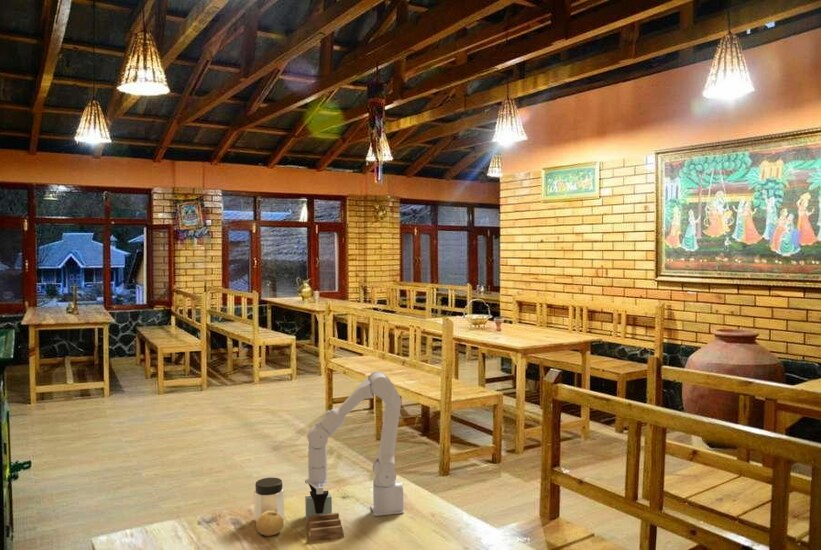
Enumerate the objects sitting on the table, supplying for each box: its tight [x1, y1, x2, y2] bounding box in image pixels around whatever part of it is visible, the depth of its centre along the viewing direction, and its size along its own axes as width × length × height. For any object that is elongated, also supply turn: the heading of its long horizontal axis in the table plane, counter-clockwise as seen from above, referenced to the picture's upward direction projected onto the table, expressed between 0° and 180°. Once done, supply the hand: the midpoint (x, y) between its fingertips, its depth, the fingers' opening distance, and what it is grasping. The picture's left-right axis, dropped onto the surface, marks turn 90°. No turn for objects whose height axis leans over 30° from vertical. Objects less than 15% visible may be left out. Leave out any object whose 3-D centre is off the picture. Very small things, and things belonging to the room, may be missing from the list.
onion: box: [255, 509, 285, 537], centre depth 192 cm, size 8×8×7 cm
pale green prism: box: [304, 493, 333, 521], centre depth 203 cm, size 8×2×6 cm, turn 103°
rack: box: [306, 512, 345, 542], centre depth 193 cm, size 10×10×3 cm
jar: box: [253, 477, 285, 522], centre depth 201 cm, size 9×8×12 cm
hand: (318, 508), depth 203 cm, fingers open, 7 cm apart
